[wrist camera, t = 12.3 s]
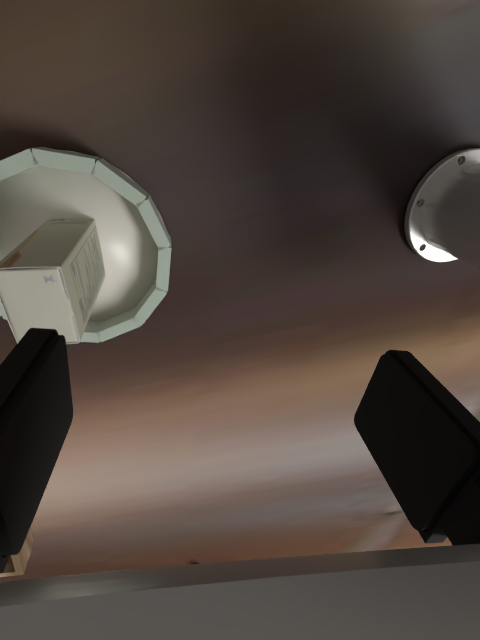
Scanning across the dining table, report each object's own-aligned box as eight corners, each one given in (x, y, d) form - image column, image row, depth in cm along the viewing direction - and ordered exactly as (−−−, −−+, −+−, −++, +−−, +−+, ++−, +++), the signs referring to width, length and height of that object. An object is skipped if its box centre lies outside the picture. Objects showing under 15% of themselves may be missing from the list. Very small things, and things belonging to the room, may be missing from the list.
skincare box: (46, 218, 31) (-17, 263, 20) (96, 217, 32) (60, 261, 21) (62, 281, 34) (15, 349, 24) (107, 280, 35) (80, 345, 24)
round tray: (176, 169, 32) (177, 173, 29) (163, 329, 40) (163, 345, 37) (-45, 130, 27) (-70, 130, 24) (-8, 320, 36) (-23, 336, 33)
